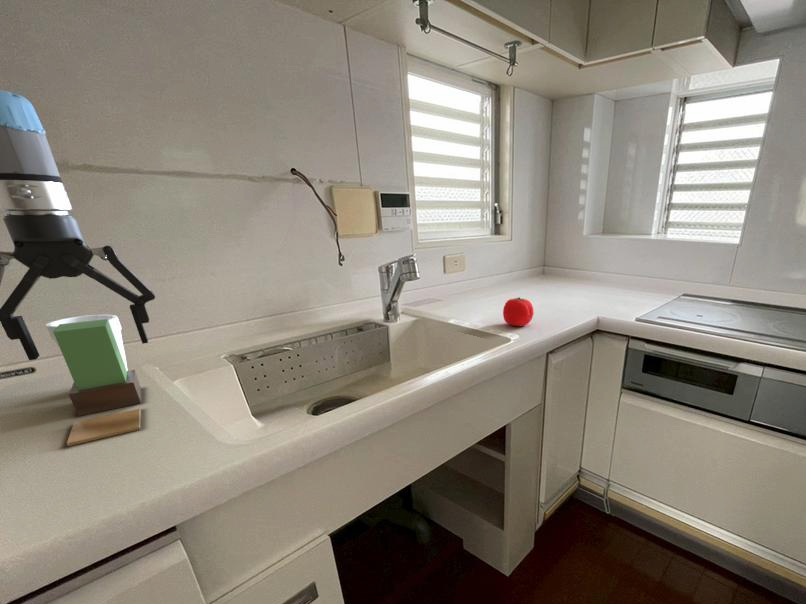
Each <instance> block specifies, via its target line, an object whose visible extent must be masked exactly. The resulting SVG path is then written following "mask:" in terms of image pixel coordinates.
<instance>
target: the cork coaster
mask: <svg viewBox="0 0 806 604" xmlns="http://www.w3.org/2000/svg"><path fill="white" fill-rule="evenodd" d="M141 413H142V410H141V408H136V409H131V410H128V411H127V410H126V411H123V412H118V413H114V414H108V415H104V416H99V417H95V418H90V419H85V420H80V421H76V422H73V424H72V425H71V426H72V427H71V429H70V433H69V436H68V438H67V441H66V446H67V447H71V446H76V445H80V444H84V443H89V442H93V441H96V440H97V441H98V440H101V439H104V438H105V439H106V438H110V437H113V436H118V435H122V434H126V433H130V432H134V431H139V430H141V418H142V417H141V416H142V415H141Z"/></svg>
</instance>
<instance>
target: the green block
mask: <svg viewBox="0 0 806 604" xmlns="http://www.w3.org/2000/svg"><path fill="white" fill-rule="evenodd" d="M54 335H55V337H56V340H57V342H58V344H59V347H60V348H59V347H58V348H59V350H60V349H61V350H60V352H61V354H62V356H63V359H64V361H65V363H66V366H67V369H68V371H69V373H70V375H71V378H72V380H73V383H75V385H76V387H77V390H78V391H79V390H84V389H90V388H95V387H101V386H106V385H112V384H118V383H123V382H126V378H127V370H126V367H125V365H124V362H123V359H122V356H121V353H120V351H119V348H118V345H117V342H116V340H115V337H114V334H113V331H112V329H111V326H110V323H109V320H108V319H104V320H95V321H85V322H76V323H67V324H59V325H58V327H57V328H56V329H55V331H54Z"/></svg>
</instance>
